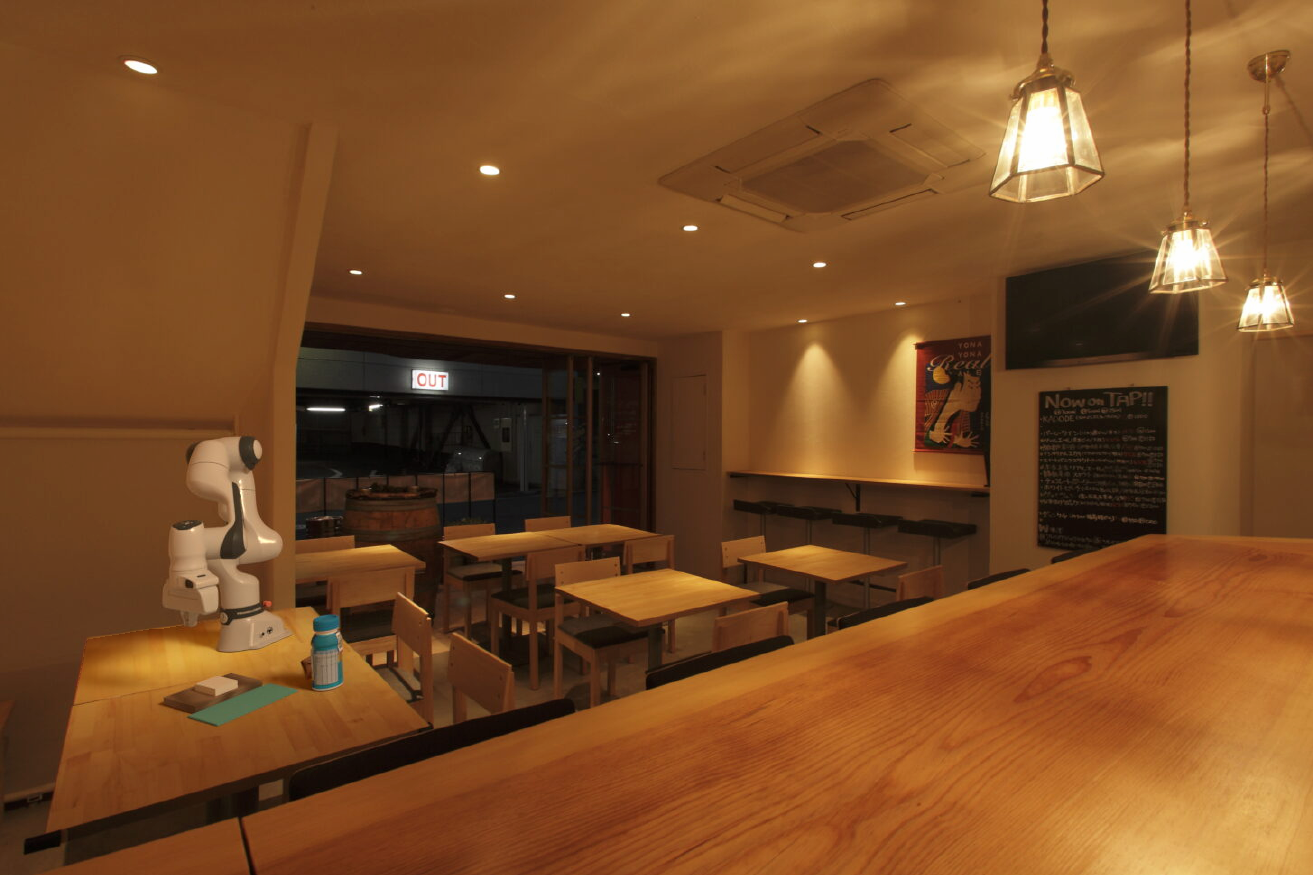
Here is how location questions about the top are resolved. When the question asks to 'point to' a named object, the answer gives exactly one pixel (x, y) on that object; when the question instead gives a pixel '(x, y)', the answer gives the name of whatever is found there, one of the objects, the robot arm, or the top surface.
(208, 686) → the tile
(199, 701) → the brown wooden board
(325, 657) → the beverage bottle
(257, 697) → the mat
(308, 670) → the sunglasses case
